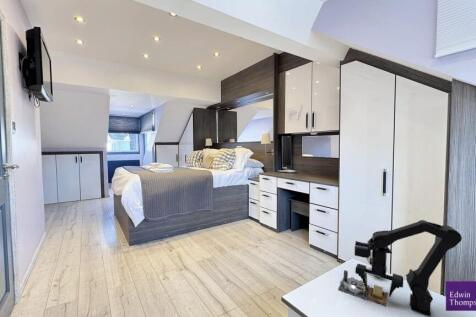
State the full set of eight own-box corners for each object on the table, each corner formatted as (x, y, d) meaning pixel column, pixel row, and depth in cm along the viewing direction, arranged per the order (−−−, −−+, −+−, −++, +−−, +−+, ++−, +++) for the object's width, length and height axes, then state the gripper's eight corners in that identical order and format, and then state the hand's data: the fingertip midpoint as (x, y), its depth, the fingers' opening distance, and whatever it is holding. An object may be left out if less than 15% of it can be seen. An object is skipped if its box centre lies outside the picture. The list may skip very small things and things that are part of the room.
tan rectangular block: (382, 295, 106) (382, 287, 106) (381, 301, 102) (382, 292, 102) (373, 292, 108) (374, 284, 108) (372, 298, 104) (373, 289, 104)
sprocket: (344, 276, 121) (344, 265, 120) (370, 285, 113) (370, 273, 113) (337, 287, 111) (337, 274, 111) (365, 298, 104) (365, 284, 103)
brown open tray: (387, 296, 107) (387, 292, 107) (386, 306, 99) (386, 303, 99) (369, 290, 111) (369, 286, 111) (367, 299, 104) (367, 296, 104)
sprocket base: (369, 287, 113) (369, 285, 113) (365, 299, 104) (365, 298, 104) (343, 278, 121) (343, 277, 121) (338, 289, 111) (338, 288, 111)
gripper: (404, 259, 105) (402, 291, 106) (359, 248, 116) (358, 277, 117) (403, 269, 96) (402, 304, 97) (355, 256, 108) (354, 288, 108)
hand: (377, 292), depth 105 cm, fingers open, 9 cm apart
